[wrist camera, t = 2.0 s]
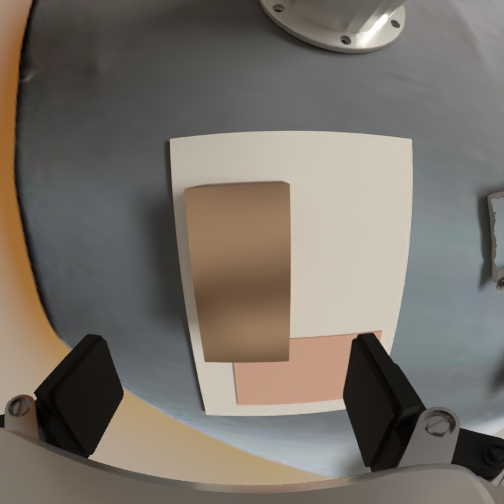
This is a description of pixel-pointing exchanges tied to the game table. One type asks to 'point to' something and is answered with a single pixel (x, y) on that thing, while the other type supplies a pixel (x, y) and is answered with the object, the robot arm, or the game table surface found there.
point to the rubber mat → (308, 257)
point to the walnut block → (241, 269)
